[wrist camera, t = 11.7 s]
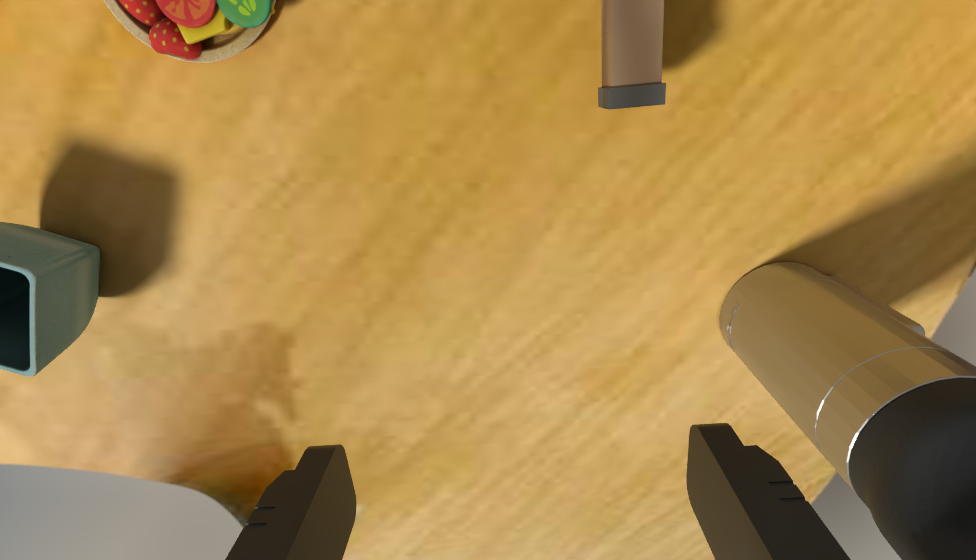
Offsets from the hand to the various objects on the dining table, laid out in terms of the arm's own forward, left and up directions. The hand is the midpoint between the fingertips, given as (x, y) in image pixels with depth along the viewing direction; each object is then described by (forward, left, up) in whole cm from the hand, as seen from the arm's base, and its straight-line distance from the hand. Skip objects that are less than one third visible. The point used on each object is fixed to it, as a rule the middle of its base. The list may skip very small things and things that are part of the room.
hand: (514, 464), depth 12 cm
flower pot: (+37, +3, -30) cm, 48 cm away
